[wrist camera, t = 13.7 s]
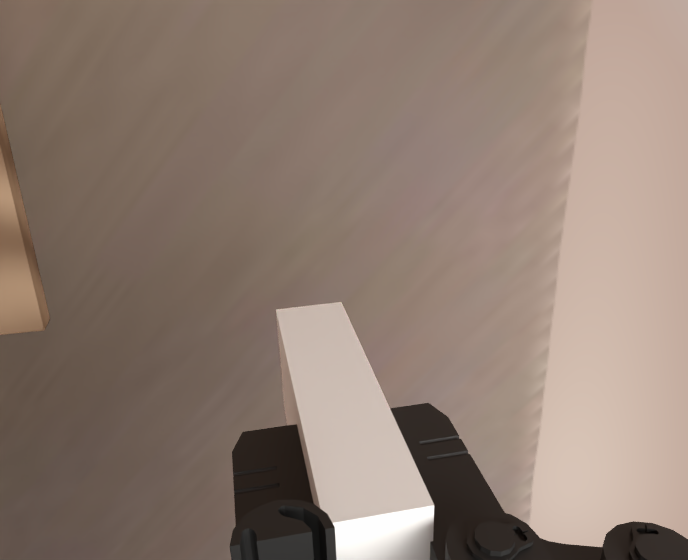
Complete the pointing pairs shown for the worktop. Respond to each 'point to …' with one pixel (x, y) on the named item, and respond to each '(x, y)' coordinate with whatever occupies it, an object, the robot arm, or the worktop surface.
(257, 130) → the worktop surface
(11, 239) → the walnut board
